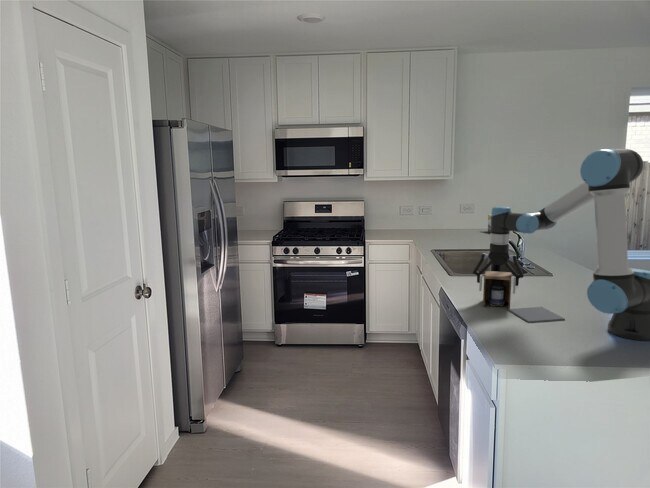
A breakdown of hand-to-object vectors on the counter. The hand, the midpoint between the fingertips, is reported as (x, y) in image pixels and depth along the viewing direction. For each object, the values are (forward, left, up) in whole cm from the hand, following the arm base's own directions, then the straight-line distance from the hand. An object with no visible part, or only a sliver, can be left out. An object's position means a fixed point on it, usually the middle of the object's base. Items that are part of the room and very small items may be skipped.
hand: (496, 291), depth 196 cm
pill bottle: (0, 0, -6) cm, 6 cm away
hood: (0, 0, -6) cm, 6 cm away
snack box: (+178, -95, -6) cm, 202 cm away
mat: (-16, -8, -6) cm, 19 cm away
